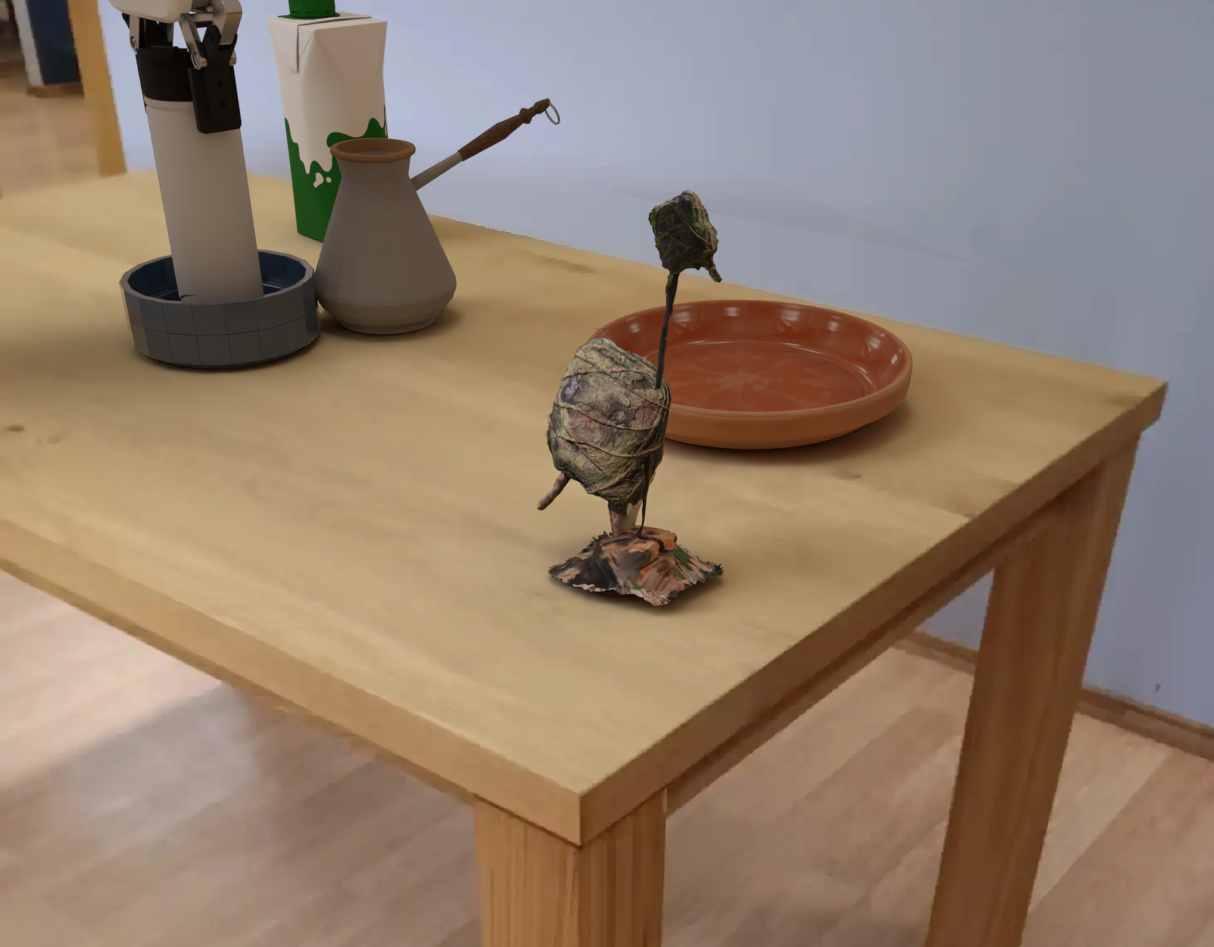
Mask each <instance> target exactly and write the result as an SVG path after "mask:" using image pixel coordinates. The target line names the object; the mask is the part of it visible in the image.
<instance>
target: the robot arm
mask: <svg viewBox="0 0 1214 947" xmlns="http://www.w3.org/2000/svg"><path fill="white" fill-rule="evenodd" d="M107 1H108V3H109V4H110V5H111V6H112V7H113V8H114V9H115V10H117V11H118V12H120V13H121V17H122V19H123V21H124V22H125V25H126V26H127V28H128V30H129V31H128V32H129V35H128V36H129V45H130V49H131V50H132V51H133V53H135V54H134V56H135V63H136V68H137V73H138V78H139V83H140V90H141V96H142V100H143V106H144V111H145V114H146V115H147V113H146V106H147V104H146V103H145V101H144V96H143V95H144V91H143V84H144V82H143V80H142V79H141V74H140V69H139V63H138V57H137V52H136V49H137V48H150V47H151V46H153V45H156V46H174V34H175V23H177V22H178V25H179V28H180V31H181V34H182V37H183V40H184V43H185V46H186V48H187V51H189V54H190V57H191V60H192V63H193V65H194V67H195V68H187V69H188V75H189V82H190V88H191V94H192V100H193V107H194V113H195V119H196V126H197V130H198V131H199V132H200V133H203V134H211V133H217V132H223V131H230V130H236V129H239V128H240V129H241V128H242V116H241V108H240V100H239V94H238V86H237V79H236V72H235V66H236V64H237V60H238V59H237V52H236V50H235V49H236V45H237V42H238V37H239V34H238V32H239V31H238V30H239V28H240V24H241V20H242V18H243V6H242V4H241V1H239V0H107ZM190 12H191V13H190ZM204 28H205V31H204V34H203V37H202V40H201V37H200V33H199V31H198V29H204Z"/></svg>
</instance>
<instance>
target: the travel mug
mask: <svg viewBox="0 0 1214 947" xmlns="http://www.w3.org/2000/svg"><path fill="white" fill-rule="evenodd" d="M136 52H137V53H136V54H137V57H138V63H139V69H140V74H141V79H142V80H143V82H144V84H143V91H144V95H143V96H144V101H145V103H146V104H147V106H146V112H145V114H146V113H147V114H146V118H147V124H148V130H149V134H150V140H151V146H152V152H153V157H154V164H155V168H156V174H157V180H158V186H159V191H160V197H161V202H162V208H163V213H164V214H163V215H164V219H165V220H164V221H165V224H166V231H167V237H168V241H169V247H170V248H169V249H170V254H171V255H172V259H173V265H174V270H175V276H176V282H177V287H178V293H179V298H180V301H181V302H223V301H231V300H239V299H247V298H253V297H258V296H262V295H264V293H263V286H262V279H261V272H260V265H259V257H258V250H257V249H258V244H257V243H258V242H257V237H256V230H255V223H254V216H253V215H254V214H253V209H252V208H253V207H252V202H251V193H250V189H249V188H250V186H249V180H248V172H247V165H246V159H245V152H244V145H243V144H244V143H243V138H242V131H241V130H242V129H241V127H240V128H239V129H236V130H230V131H223V132H217V133H211V134H203V133H200V132H199V131H198V130H197V126H196V119H195V113H194V107H193V100H192V94H191V88H190V82H189V75H188V69H187V68H195V67H194V65H193V63H192V60H191V57H190V54H189V51H188V49H187V47H179V45H173V46H156V45H153V46H151V47H150V48H137V49H136ZM143 96H142V97H143Z"/></svg>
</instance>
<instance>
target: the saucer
mask: <svg viewBox="0 0 1214 947" xmlns="http://www.w3.org/2000/svg"><path fill="white" fill-rule="evenodd" d="M665 313H666V305H661V306H655V307H650V308H647V309H646V308H645V309H642V310H639V311H636V312H633V313H629V314H627V315H624V316H621V317H619V318H616V319H615V320H612V321H610V322H607V323H606V324H604V325H602V326H601V327H600V328H599V329H601V328H604V329H605V330H603V331H599V330H597V329H596V330H595V331H594V332H593V333H592V334H591V335H590V336H589V338H588V339H587V340H586V342H588V341H589V339H591V338H593V339H594V338H605V339H609V340H611V341H613V342H614V343H616V345H620V346H622V347H623V348H625V349H626V350H628V351H629V352H633V353H635V354H637V355H639V356H640V357H643V358H645V359H647V360H648V361H649V362H651V363H652V364H653V365H654V366H656V368H658V352H659V344H660V337H661V330H662V325H663V323H664V317H665ZM913 364H914V363H913V356H912V353H911V350H910V349H909V347H908V346H907V345H906V344H905V342H903V340H901V339H900V338H899V337H898V336H896V335H895V334H894V333H893V332H891V331H890V330H888V329H886V328H884V327H883V326H881V325H878V324H876V323H874V322H871V321H869V320H867V319H864V318H861V317H858V316H856V315H852V314H849V313H846V312H842V311H838V310H835V309H830V308H829V309H828V308H825V307H821V306H815V305H810V304H802V303H797V302H796V303H795V302H786V301H779V300H767V299H766V300H765V299H764V300H763V299H711V300H710V299H707V300H696V301H686V302H679V303H678V302H677V303H674V304H673V313H672V315H671V317H670V319H669V322H668V334H667V345H666V351H665V364H664V373H663V374H664V377H666V379H667V380H668V382H669V384H670V389H671V398H672V400H671V405H670V408H669V417H668V422H667V429H666V433H665V439H669V440H672V441H676V442H681V443H684V444H689V445H695V446H703V447H709V448H710V447H711V448H718V449H732V450H733V449H734V450H770V449H785V448H786V449H787V448H795V447H802V446H807V445H813V444H818V443H822V442H826V441H829V440H833V439H837V438H840V437H843V436H845V435H847V434H850V433H852V432H854V431H857V430H858V429H860V428H862V427H863V426H866V425H868V424H871V423H875V422H876V421H877V420H880V419H882V418H884V417H886V416H887V415H889V414H890V413H892V412H893V411H894V410H895V409H897V408H898V407H899V406H900V405H901V403H902V402H903V401H904V400H905V399H906V396H908V392H909V389H910V383H911V378H912V372H913Z"/></svg>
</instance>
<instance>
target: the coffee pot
mask: <svg viewBox="0 0 1214 947" xmlns="http://www.w3.org/2000/svg"><path fill="white" fill-rule="evenodd" d="M549 107H551V108H552V109H553V111H554V113H555V115H556V118H557V122H556V121H555V120H554V119H553V118H552V117H551V115H550V114H549V112H548V109H549ZM543 113H545V115H546V117H547V119H548V120H549V122H550V123H551V124H553V125H555V126H556V125H559V124H560V123H561V117H560V114H559V112H558V110H557V108H556V106H554V104H553V103H552V101H551V100H550V98H549V97H546V98H544V99H543V98H542V99H540V100H538V101H536V102H534V103H533V105H532V106H530V107H529V108H526V107H521V108H520V109H519V113H518V114H515V115H513V116H510V117H508V118H506V119H504V120H501V121H498V122H496V123H495V124H493V125H492V126H490V127H489V128H488V129H486V130H485V131H483V132H482V133H480V134H479V135H477V136H476V137H475V138H473V139H472V140H471V141H469V142H467V144H465V145H463V146H462V147H461V148H459V149H458V150H457V151H456V152H455V153H453V154H450V155H449V156H448V157H446V158H444V159H442V160H441V161H439V162H437V163H436V164H433V165H431V166H430V167H428V168H427V169H425V170H423V171H422V172H419V173H418V174H416V175H415V176H413V177H411V176H410V173H409V172H410V168H411V165H410V164H411V158H412V156H413V155H415V154H416V152H417V148H416V145H415V144H414V143H412V142H411V141H407V140H403V139H397V138H390V137H388V138H363V139H353V140H347V141H342V142H339V143H336V144H334V145H332V146H331V148H330V153H331V155H332V156H333V157H336V159H337V163H338V166H339V169H340V172H341V175H342V179H341V182H340V186H339V189H338V193H337V196H336V200H335V203H334V207H333V210H332V214H331V217H330V221H329V224H328V228H327V231H326V235H325V238H324V242H322V245H321V249H320V253H319V256H318V260H317V263H316V266H315V269H314V274H315V282H316V291H317V300H318V304H319V306H321V307H322V309H323V310H325V312H326V313H328V314H329V315H330V316H331V317H333V318H335V319H337V320H339V323H340V325H341V326H342V327H344V328H346V329H347V330H350V331H353V332H356V333H362V334H370V335H372V334H373V335H397V334H405V333H406V334H407V333H410V332H414V331H418V330H422V329H424V328H428V326H431V325H432V324H434V322H435V321H436V317H437V316H438V315H439V314H441V313H442V312H443V311H444V310H445V309H446V307H447V306H448V305H449V304H450V302H451V301H453V298H454V294H455V293H456V290H457V277H456V274H455V272H454V270H453V269H454V268H453V267H452V265H451V263H450V260H449V259H448V257H447V254H446V252H445V250H444V248H443V245H442V244H441V241H440V239H439V238H438V235H437V233H436V231H435V228H434V227H433V224H432V222H431V220H430V218H429V215H428V214H427V211H426V210H425V207H424V206H423V205H424V204H423V203H422V201H421V198H420V196H419V194H418V192H417V191H419V190H420V189H422V188H424V187H425V186H427V185H428V184H430V183H431V182H433V181H434V180H436V179H437V178H439V177H441V176H442V175H443V174H445V173H447V172H448V171H449V170H451V169H453V168H454V167H456V166H458V165H459V164H460V163H461V162H466V161H467V160H469V159H471V158H472V157H475V156H477V155H478V154H480V153H482V152H483V151H485V150H487V149H489V148H492V147H493V146H495V145H496V144H498V143H501V142H503V141H504V140H506V139H507V138H508V137H510V135H512V134H513V133H514V132H515V131H516V130H517V129H519V128H520V127H521V126H523V125H524V124H525V125H530V124H531V123H532V121H533V118H534V117H535V116H537V115H541V114H543Z"/></svg>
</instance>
